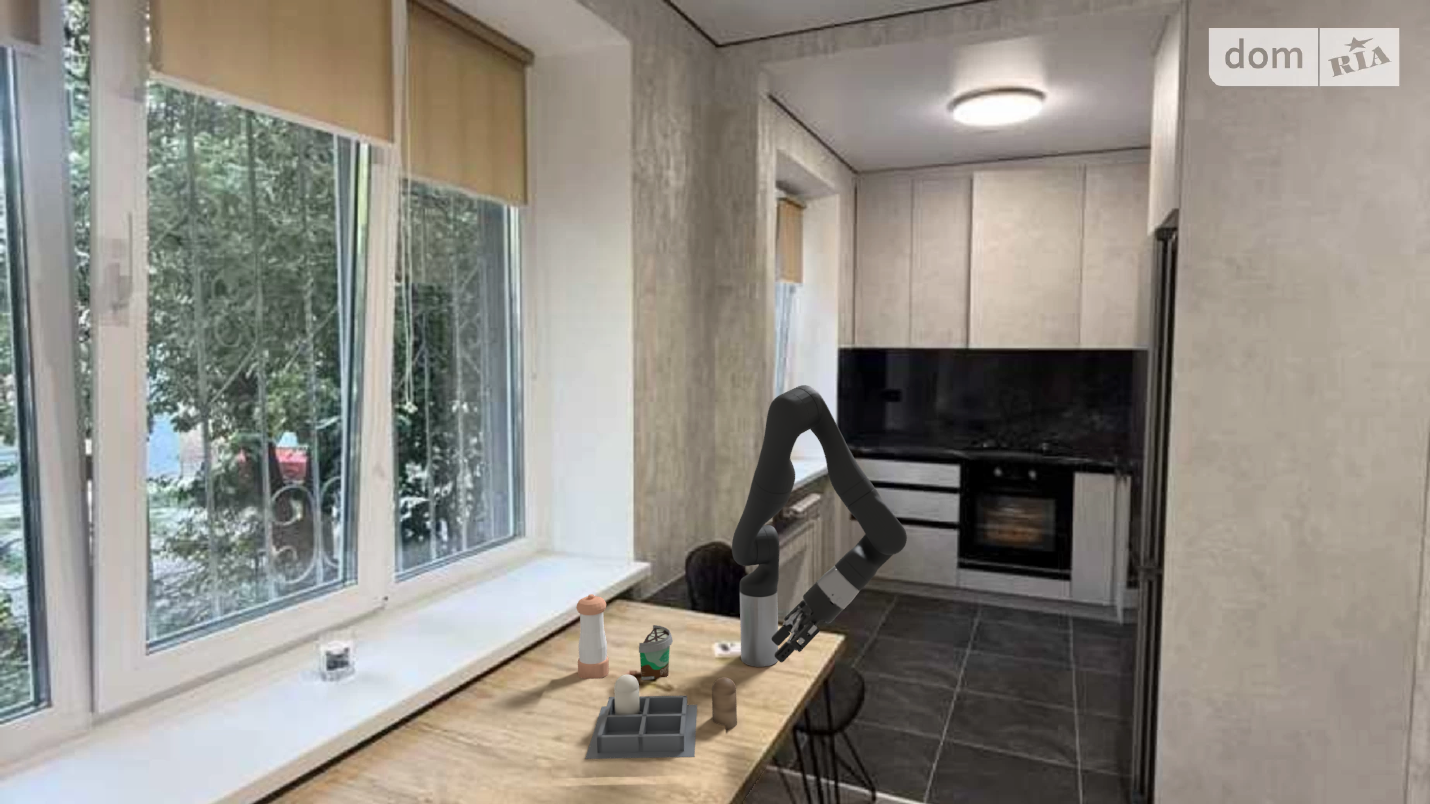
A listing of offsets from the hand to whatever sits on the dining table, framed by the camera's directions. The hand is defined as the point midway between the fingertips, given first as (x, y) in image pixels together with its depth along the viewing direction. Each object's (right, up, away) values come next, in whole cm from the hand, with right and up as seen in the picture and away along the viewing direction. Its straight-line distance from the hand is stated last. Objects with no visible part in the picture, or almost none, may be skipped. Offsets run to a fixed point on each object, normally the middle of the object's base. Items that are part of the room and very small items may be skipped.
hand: (775, 650), depth 152 cm
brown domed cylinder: (-10, -15, +1) cm, 19 cm away
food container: (-25, -14, +24) cm, 38 cm away
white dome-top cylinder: (-30, -15, +1) cm, 34 cm away
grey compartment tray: (-26, -16, -3) cm, 31 cm away
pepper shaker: (-41, -14, +26) cm, 51 cm away
